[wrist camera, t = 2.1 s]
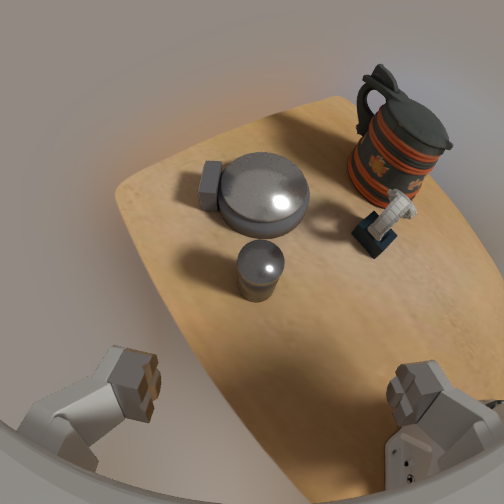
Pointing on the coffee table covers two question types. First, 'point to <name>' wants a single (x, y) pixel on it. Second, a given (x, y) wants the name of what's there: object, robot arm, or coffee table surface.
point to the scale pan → (263, 187)
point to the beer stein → (393, 141)
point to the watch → (383, 223)
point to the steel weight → (259, 269)
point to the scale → (214, 199)
